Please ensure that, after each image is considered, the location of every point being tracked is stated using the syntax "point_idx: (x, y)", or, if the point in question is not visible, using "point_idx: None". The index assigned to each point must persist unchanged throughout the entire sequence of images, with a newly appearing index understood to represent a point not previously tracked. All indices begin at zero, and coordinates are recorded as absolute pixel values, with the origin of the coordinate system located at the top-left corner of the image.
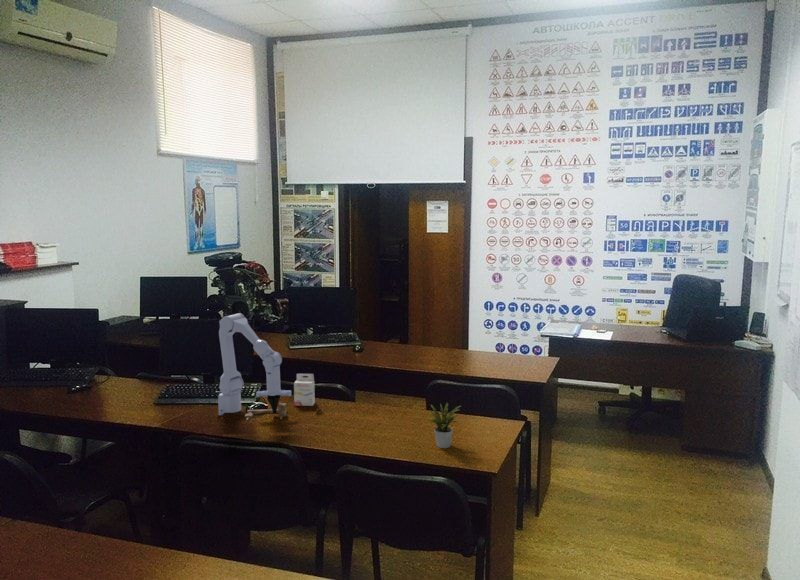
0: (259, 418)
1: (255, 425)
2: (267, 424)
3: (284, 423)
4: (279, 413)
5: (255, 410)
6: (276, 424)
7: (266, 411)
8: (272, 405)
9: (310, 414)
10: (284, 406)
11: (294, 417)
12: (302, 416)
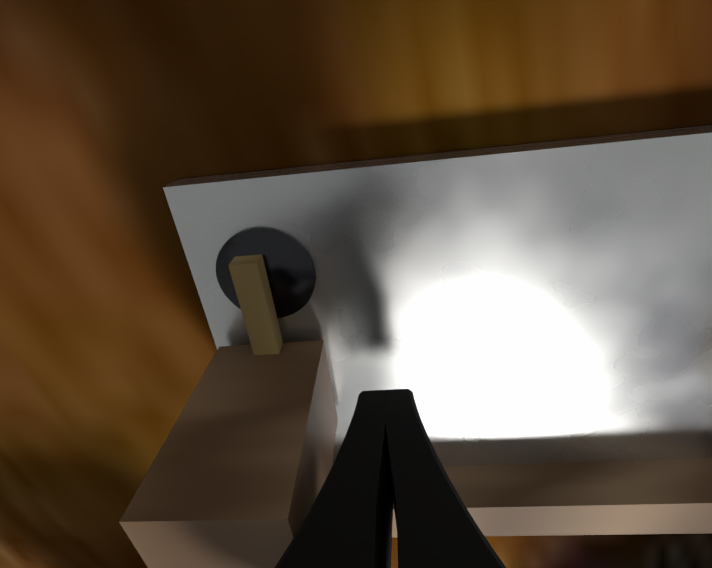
0: None
1: (688, 9)
2: (448, 81)
3: (163, 143)
4: (293, 377)
5: (705, 512)
6: (280, 84)
7: (534, 492)
8: (421, 518)
9: (24, 457)
10: (142, 493)
11: (148, 382)
12: (72, 408)
